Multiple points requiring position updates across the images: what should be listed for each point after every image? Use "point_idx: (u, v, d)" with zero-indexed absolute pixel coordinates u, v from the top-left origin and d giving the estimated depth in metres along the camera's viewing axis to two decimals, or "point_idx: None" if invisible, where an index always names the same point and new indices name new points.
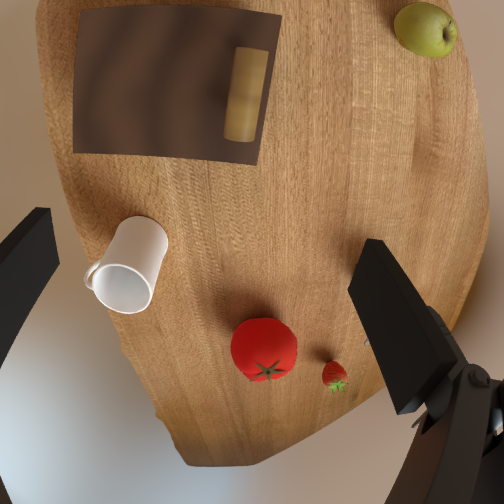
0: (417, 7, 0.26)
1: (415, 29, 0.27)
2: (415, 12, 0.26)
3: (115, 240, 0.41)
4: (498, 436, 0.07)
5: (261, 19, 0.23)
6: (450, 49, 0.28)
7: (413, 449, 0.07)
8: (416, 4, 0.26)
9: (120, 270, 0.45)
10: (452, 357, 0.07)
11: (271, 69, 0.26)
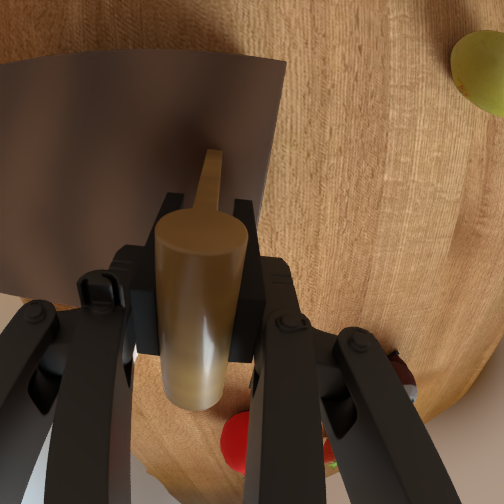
0: (494, 40, 0.15)
1: (491, 77, 0.16)
2: (492, 48, 0.15)
3: None
4: None
5: (243, 71, 0.12)
6: None
7: (250, 415, 0.08)
8: (490, 34, 0.15)
9: None
10: (259, 297, 0.09)
11: (263, 176, 0.15)
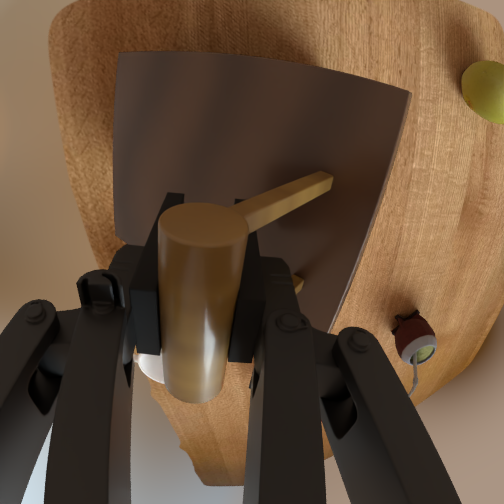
0: (493, 70, 0.23)
1: (490, 96, 0.25)
2: (491, 76, 0.24)
3: None
4: None
5: (363, 95, 0.11)
6: None
7: (250, 415, 0.08)
8: (491, 65, 0.24)
9: None
10: (259, 297, 0.09)
11: (370, 215, 0.13)
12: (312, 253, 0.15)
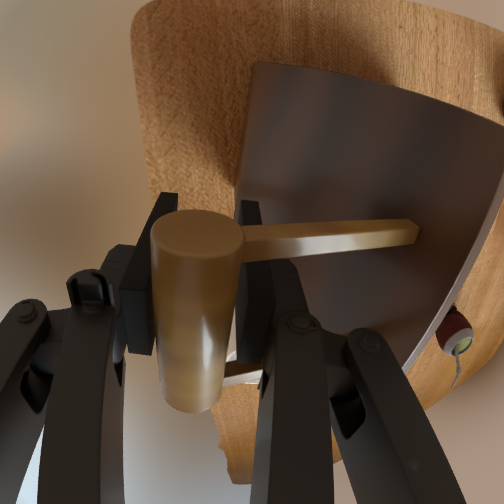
0: None
1: None
2: None
3: None
4: None
5: (464, 132, 0.08)
6: None
7: (259, 415, 0.08)
8: None
9: None
10: (269, 298, 0.09)
11: (448, 286, 0.09)
12: (382, 312, 0.12)
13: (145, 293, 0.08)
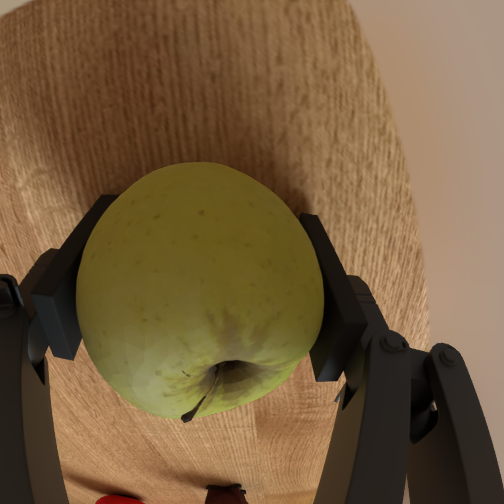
0: (85, 267, 0.07)
1: None
2: (77, 297, 0.08)
3: None
4: (436, 412, 0.08)
5: None
6: (273, 388, 0.10)
7: (336, 426, 0.08)
8: (100, 230, 0.08)
9: None
10: (361, 320, 0.08)
11: None
12: None
13: (53, 298, 0.07)
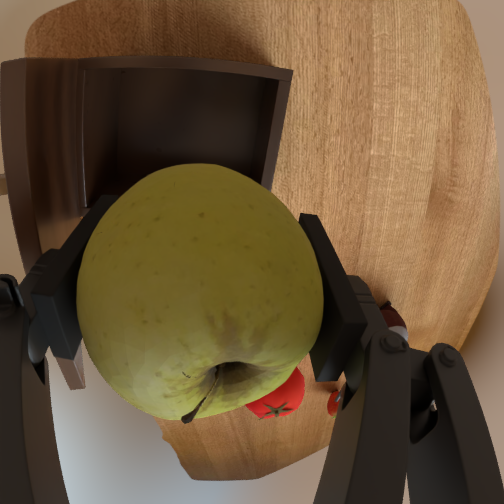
0: (85, 269, 0.07)
1: None
2: (78, 298, 0.08)
3: None
4: (436, 412, 0.08)
5: None
6: (273, 389, 0.10)
7: (336, 426, 0.08)
8: (101, 232, 0.08)
9: None
10: (361, 320, 0.08)
11: (14, 225, 0.09)
12: None
13: (53, 298, 0.07)
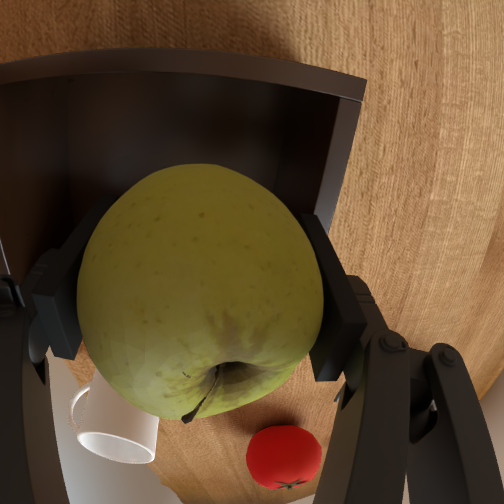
0: (86, 269, 0.07)
1: None
2: (78, 298, 0.08)
3: (99, 381, 0.28)
4: (435, 412, 0.08)
5: None
6: (273, 389, 0.10)
7: (335, 426, 0.08)
8: (101, 232, 0.08)
9: None
10: (360, 319, 0.08)
11: None
12: None
13: (54, 298, 0.07)
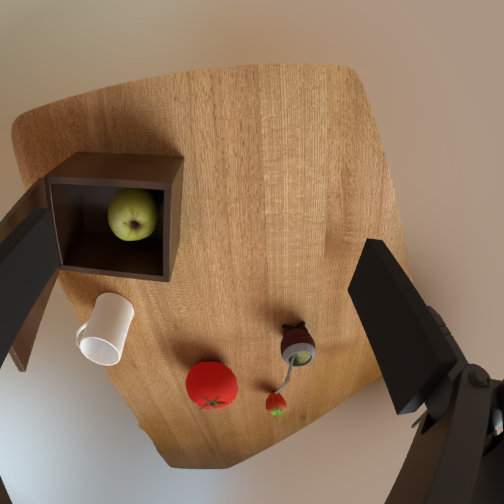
0: (111, 204, 0.42)
1: (110, 226, 0.44)
2: (108, 210, 0.42)
3: (94, 314, 0.55)
4: (498, 436, 0.07)
5: None
6: (146, 233, 0.45)
7: (413, 449, 0.07)
8: (114, 197, 0.43)
9: None
10: (452, 357, 0.07)
11: None
12: None
13: None
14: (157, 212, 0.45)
